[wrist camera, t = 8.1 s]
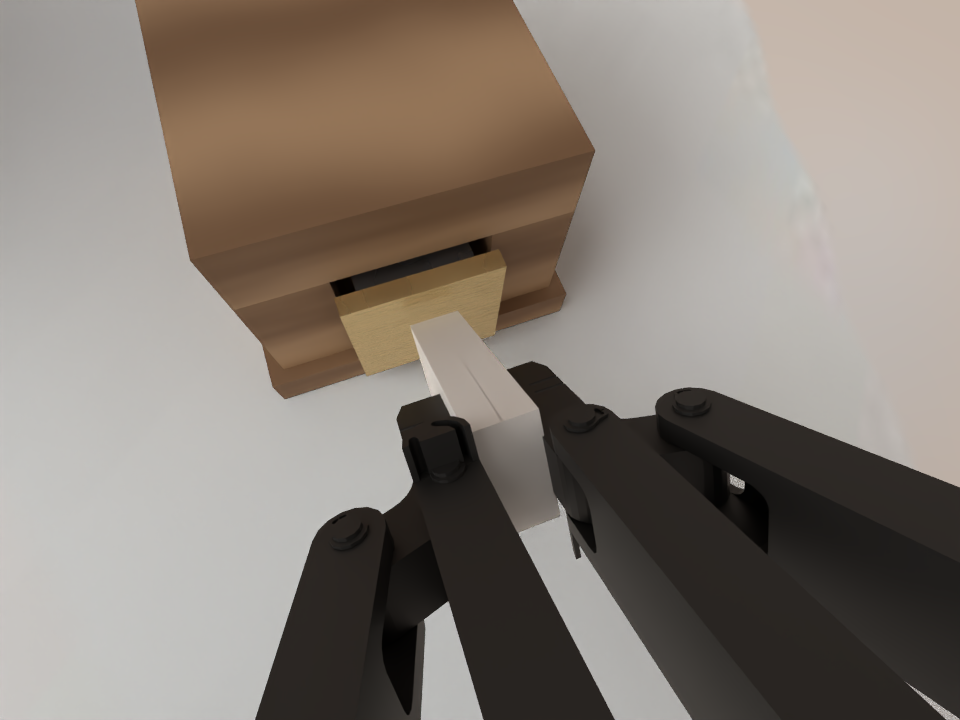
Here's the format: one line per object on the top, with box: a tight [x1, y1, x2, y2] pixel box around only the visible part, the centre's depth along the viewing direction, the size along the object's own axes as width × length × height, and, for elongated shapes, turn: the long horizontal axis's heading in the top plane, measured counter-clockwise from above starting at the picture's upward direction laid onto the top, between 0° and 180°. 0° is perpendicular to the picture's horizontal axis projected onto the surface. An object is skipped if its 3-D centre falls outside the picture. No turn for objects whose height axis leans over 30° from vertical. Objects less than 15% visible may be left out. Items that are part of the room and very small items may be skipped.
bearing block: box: [135, 0, 595, 399], centre depth 19 cm, size 13×11×8 cm
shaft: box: [334, 242, 507, 376], centre depth 20 cm, size 21×5×5 cm, turn 20°
